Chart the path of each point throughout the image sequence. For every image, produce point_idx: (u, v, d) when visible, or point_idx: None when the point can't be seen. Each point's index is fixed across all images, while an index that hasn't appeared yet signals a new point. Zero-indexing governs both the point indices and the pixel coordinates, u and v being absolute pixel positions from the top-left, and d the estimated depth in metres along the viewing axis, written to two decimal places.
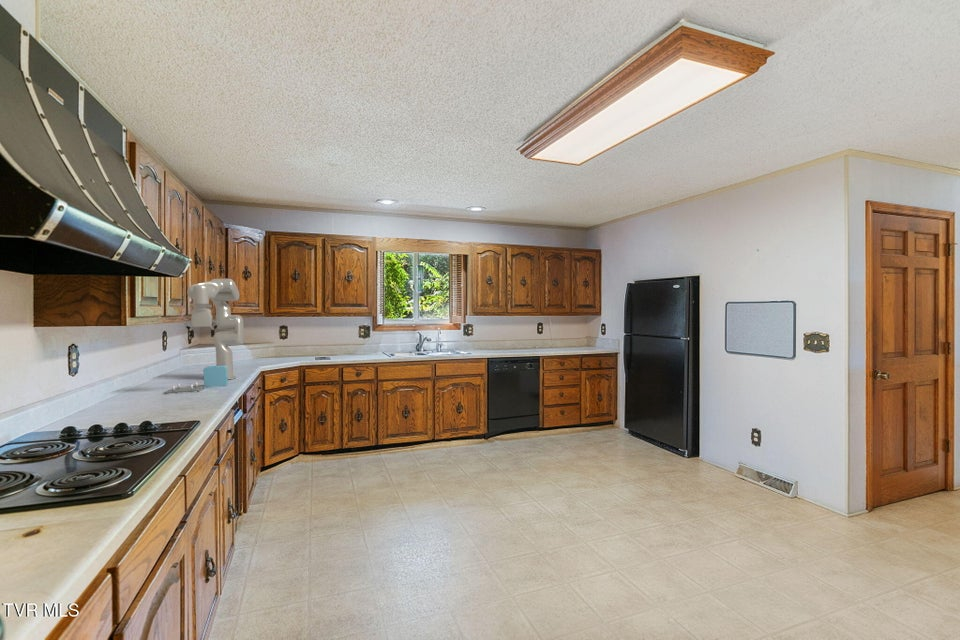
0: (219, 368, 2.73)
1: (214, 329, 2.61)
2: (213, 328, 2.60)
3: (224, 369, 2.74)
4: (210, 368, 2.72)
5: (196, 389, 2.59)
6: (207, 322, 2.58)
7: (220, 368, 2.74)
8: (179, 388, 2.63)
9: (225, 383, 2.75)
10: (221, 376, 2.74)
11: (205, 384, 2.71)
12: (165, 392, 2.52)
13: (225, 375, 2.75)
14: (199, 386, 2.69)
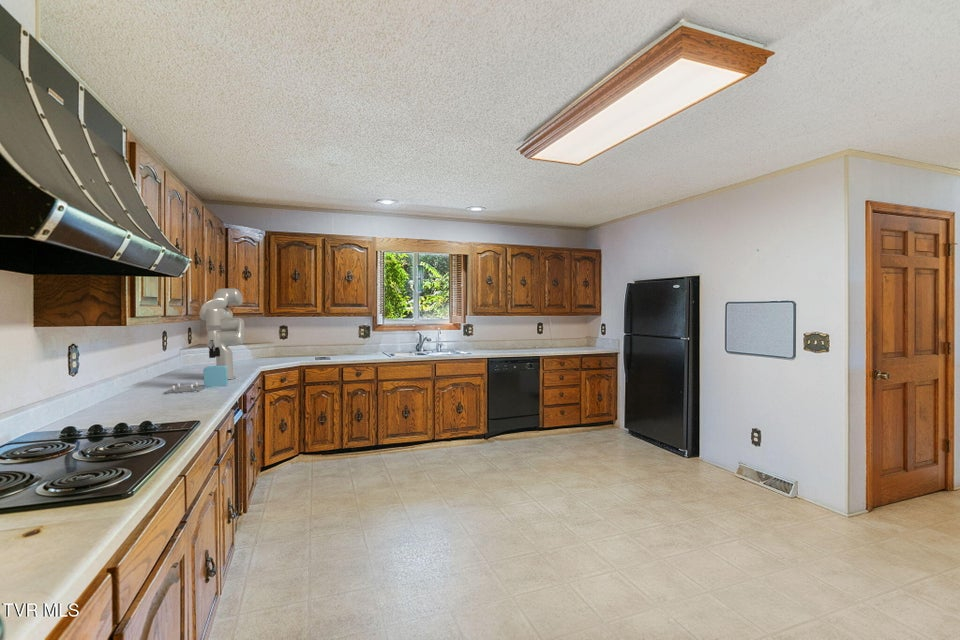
0: (219, 368, 2.73)
1: None
2: (219, 348, 2.80)
3: (224, 369, 2.74)
4: (210, 368, 2.72)
5: (196, 389, 2.59)
6: (219, 342, 2.77)
7: (220, 368, 2.74)
8: (179, 388, 2.63)
9: (225, 383, 2.75)
10: (221, 376, 2.74)
11: (205, 384, 2.71)
12: (165, 392, 2.52)
13: (225, 375, 2.75)
14: (199, 386, 2.69)
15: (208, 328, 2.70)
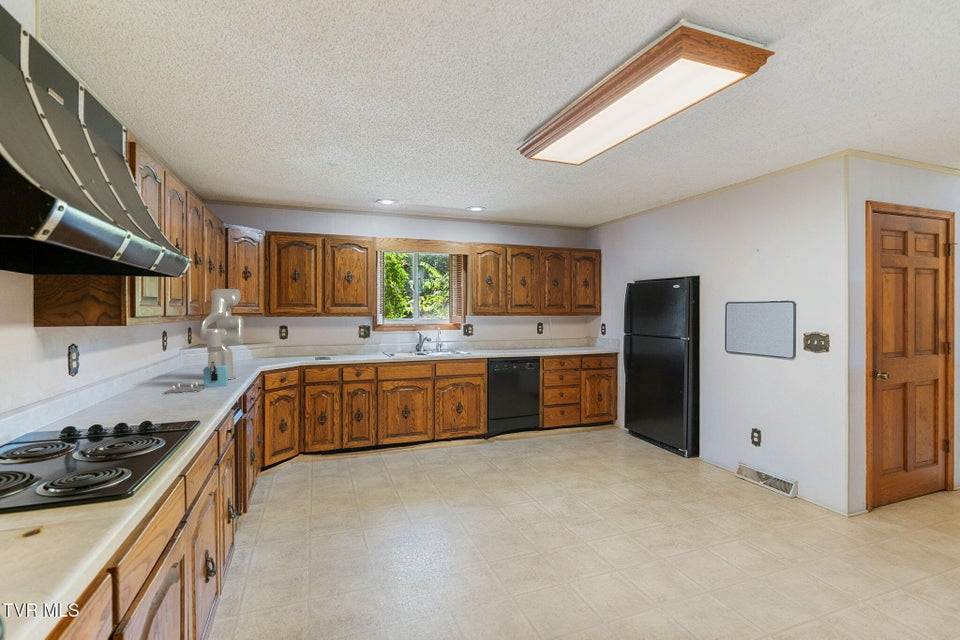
0: (219, 368, 2.73)
1: None
2: None
3: (224, 369, 2.74)
4: (210, 368, 2.72)
5: (196, 389, 2.59)
6: (220, 363, 2.78)
7: (220, 368, 2.74)
8: (179, 388, 2.63)
9: (225, 383, 2.75)
10: (221, 376, 2.74)
11: (205, 384, 2.71)
12: (165, 392, 2.52)
13: (225, 375, 2.75)
14: (199, 386, 2.69)
15: (209, 350, 2.71)
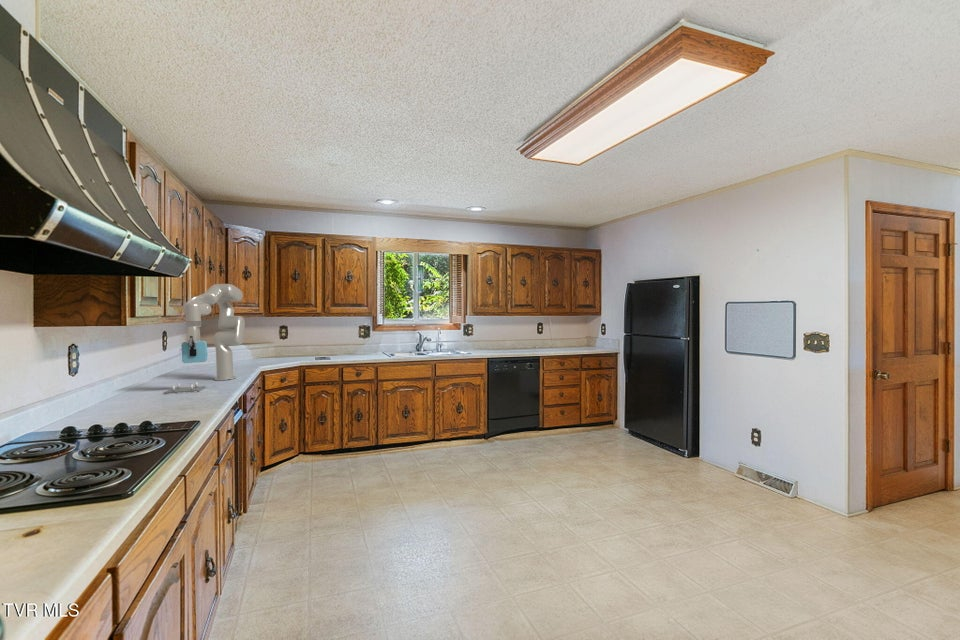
0: (198, 343, 2.64)
1: None
2: None
3: (203, 344, 2.64)
4: (188, 343, 2.62)
5: (196, 389, 2.59)
6: (199, 338, 2.68)
7: (199, 343, 2.64)
8: (179, 388, 2.63)
9: (204, 359, 2.65)
10: (200, 351, 2.64)
11: (183, 359, 2.61)
12: (165, 392, 2.52)
13: (204, 350, 2.65)
14: (199, 386, 2.69)
15: (187, 324, 2.61)
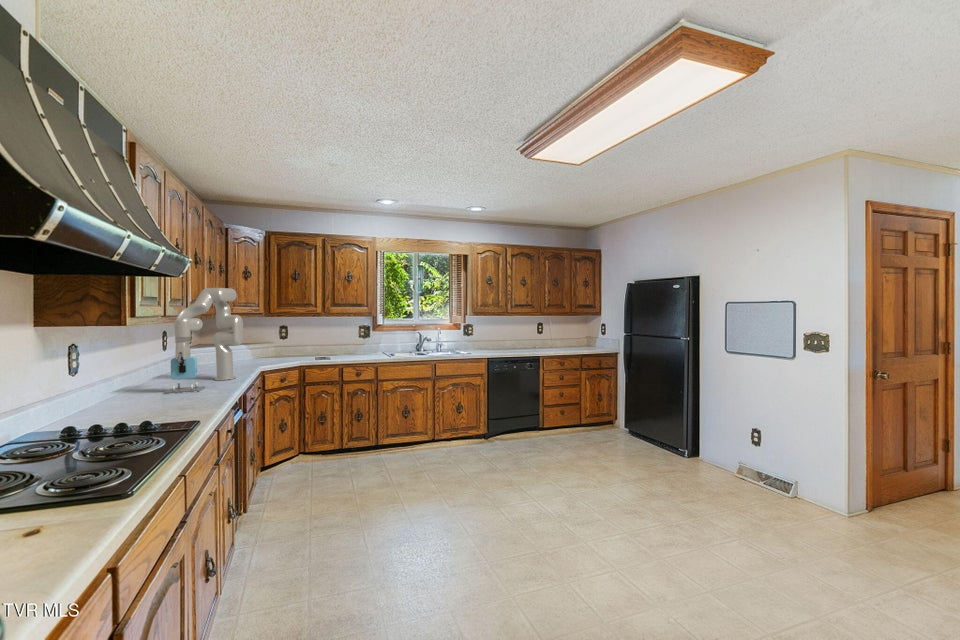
0: (187, 359, 2.59)
1: None
2: None
3: (193, 360, 2.60)
4: None
5: (196, 389, 2.59)
6: (189, 354, 2.64)
7: (188, 359, 2.59)
8: (179, 388, 2.63)
9: (194, 375, 2.60)
10: (189, 367, 2.59)
11: (172, 376, 2.56)
12: (165, 392, 2.52)
13: (194, 367, 2.60)
14: (199, 386, 2.69)
15: (177, 340, 2.56)
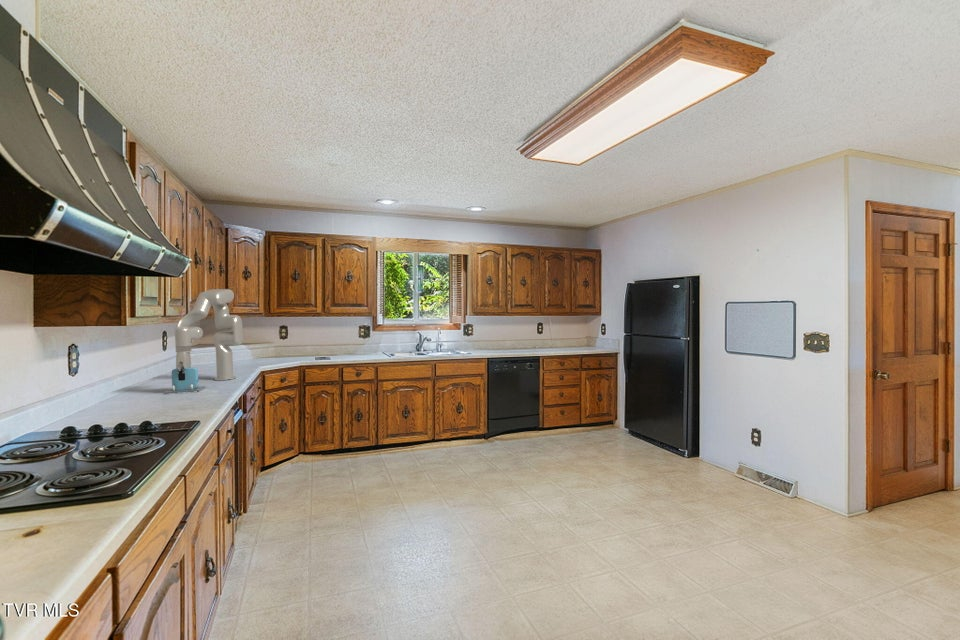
0: (188, 370, 2.59)
1: None
2: None
3: (193, 371, 2.60)
4: None
5: (196, 389, 2.59)
6: (190, 363, 2.64)
7: (189, 370, 2.60)
8: None
9: (195, 386, 2.61)
10: (190, 378, 2.60)
11: None
12: (165, 392, 2.52)
13: (194, 377, 2.61)
14: (199, 386, 2.69)
15: (177, 349, 2.57)
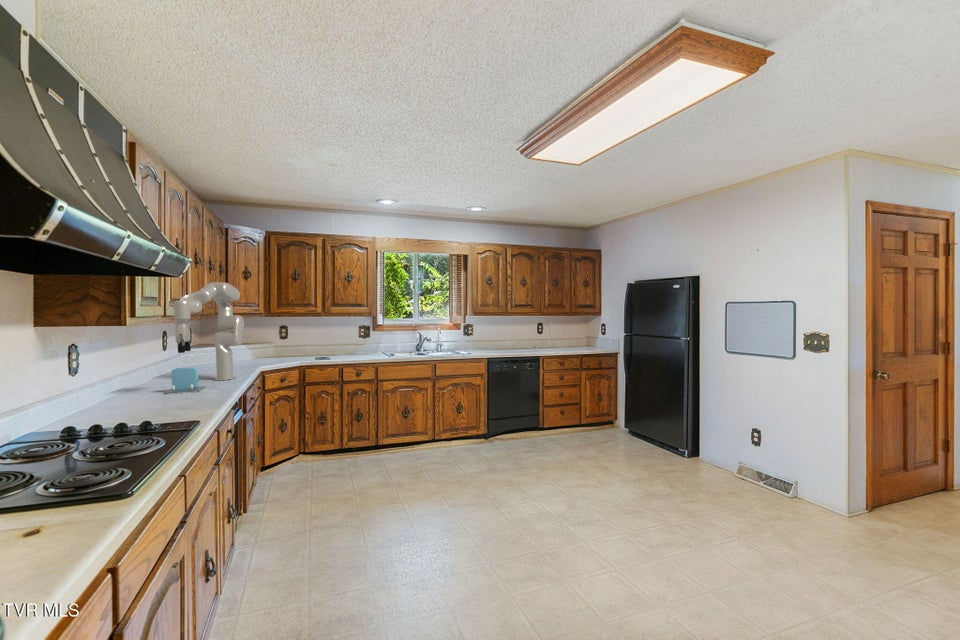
0: (188, 370, 2.59)
1: None
2: (189, 342, 2.66)
3: (193, 371, 2.60)
4: (179, 370, 2.58)
5: (196, 389, 2.59)
6: (189, 336, 2.64)
7: (189, 370, 2.60)
8: None
9: (195, 386, 2.61)
10: (190, 378, 2.60)
11: None
12: (165, 392, 2.52)
13: (194, 377, 2.61)
14: (199, 386, 2.69)
15: (176, 321, 2.57)
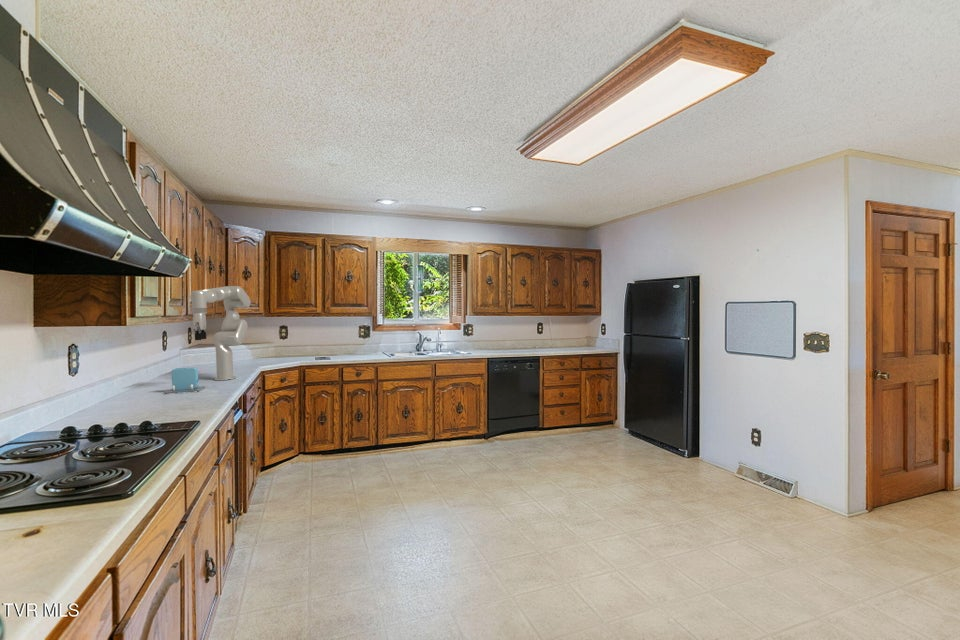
0: (188, 370, 2.59)
1: None
2: (205, 331, 2.80)
3: (193, 371, 2.60)
4: (178, 370, 2.58)
5: (196, 389, 2.59)
6: (205, 325, 2.78)
7: (189, 370, 2.60)
8: None
9: (195, 386, 2.61)
10: (190, 378, 2.60)
11: None
12: (165, 392, 2.52)
13: (194, 377, 2.61)
14: (199, 386, 2.69)
15: (194, 310, 2.71)
